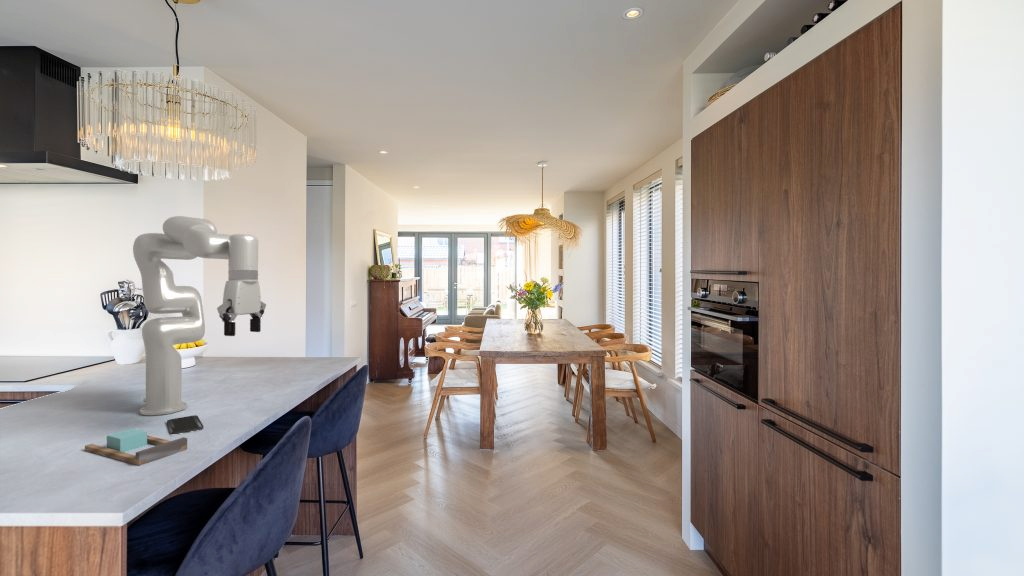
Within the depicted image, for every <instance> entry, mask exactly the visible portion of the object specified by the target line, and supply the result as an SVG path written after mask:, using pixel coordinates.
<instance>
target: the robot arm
mask: <svg viewBox="0 0 1024 576" xmlns="http://www.w3.org/2000/svg"><path fill="white" fill-rule="evenodd" d="M162 231H163V233H159V232H149V233H148V232H146V233H142V234H139V235H138V236H137V237H136V238H135V240H134V242H133V245H132V254H133V258H134V261H135V263H136V265H137V268H138V270H139V272H140V277H141V285H142V287H141V288H142V295H143V301H144V303H143V304H144V306H145V309H146V311H147V312H149V314H158V315H163V314H166V315H167V314H181V315H182V316H165V317H155V318H152V319H149V320H147V321H146V322H145V323H143V326H142V328H141V336H142V340H143V345H144V352H145V397H144V398H143V399H142V402H143V403H145V406H143V407H142V408H140V409H139V414H140V415H143V416H163V415H169V414H173V413H178V412H180V411H183V410H185V409H187V408H188V404H187V402H184V401H182V375H183V374H182V372H183V371H182V367H183V365H182V356H181V354H180V352H179V351H178V350H177V349H176V348H175V347H174V345H175V346H176V345H181V344H191V343H196V342H199V341H201V340H202V339H203V338H204V337H205V334H206V325H205V317H204V308H203V300H202V296H201V294H200V292H199V289H197V288H195V287H194V286H190V285H176V284H175V280H174V273H173V270H171V268H170V267H169V266H168V265H167V263H165V262H164V261H163V260H162V259H164V260H167V259H168V260H186V261H187V260H191V261H192V260H193V259H194V260H195V259H196V258H203V259H211V260H212V259H213V260H214V259H215V260H216V259H218V260H227V261H228V263H227V266H228V272H227V273H228V274H227V275H228V276H227V277H228V280H226V281H225V285H224V288H223V289H224V290H223V294H222V296H223V297H222V304H221V305H219V306H218V307H216V310H217V312H218V313H217V314H218V315H219V318H220V319H221V321H222V322H223V335H224V336H225V337H235V336H236V322H235V320H236V318H237V316H242V315H249V316H250V317H251V318H249V332H253V333H260V332H261V327H262V326H261V323H262V321H261V320H262V319H263V315H264V314H265V310H266V308H267V304H266V303H265V302H263V301H262V300H261V299H262V298H261V288H260V287H261V286H260V282H259V240H258V238H257V237H256V236H255V235H251V234H240V233H236V234H224V233H217V232H218V229H217V226H216V225H215V224H214V222H212V221H211V220H209V219H206V218H199V217H191V216H183V215H182V216H181V215H175V216H170V217H168V218H166V220H164V222H163V223H162Z"/></svg>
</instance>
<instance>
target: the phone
mask: <svg viewBox="0 0 1024 576" xmlns="http://www.w3.org/2000/svg"><path fill="white" fill-rule="evenodd" d="M166 425H167V427H168V430H169V433H170V435H171V434H177V435H181V434H180V433H183V434H186V433H185V432H188V433H192V432H191V431H194V432H198V431H197V430H199V431H202V429H203V430H204V425H203V422H202V421H201V420H200V418H199V416H198V415H196V414H195V415H189V416H182V417H175V418H170V419H167V420H166Z"/></svg>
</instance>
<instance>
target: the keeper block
mask: <svg viewBox="0 0 1024 576" xmlns="http://www.w3.org/2000/svg"><path fill="white" fill-rule="evenodd" d="M147 435H148V431H147V430H141V429H138V428H134V427H133V428H130V429H126V430H122V431H118V432H114V433H111V434H106V448H110V449H113V450H117V451H121V452H125V453H127V452H130V451H129V450H131V451H133V450H132V449H134V450H136V448H137V449H140V448H143V447H142V446H144V447H146V446H145V445H147V446H148V443H147ZM139 447H140V448H139ZM126 451H127V452H126Z"/></svg>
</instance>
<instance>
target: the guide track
mask: <svg viewBox="0 0 1024 576" xmlns="http://www.w3.org/2000/svg"><path fill="white" fill-rule="evenodd" d="M149 443H151V444H150V445H153V444H154V446H152V447H148V448H146V449H142V450H139V451H135V454H132V453H127V452H121V451H117V450H113V449H110V448H107V446H106V447H105V446H102V445H98V444H95V443H90V444H87V445H84V451H86V452H90V453H94V454H96V455H100V456H103V457H107V458H111V459H114V460H119V461H121V462H124V463H129V464H132V465H137V466H139V467H140V466H142V464H143V465H146V464H149V463H151V462H154V461H157V460H160V459H162V458H166V457H169V456H172V455H175V454H178V453H181V452H183V450H184V451H186V449H187V450H188V437H179V438H177V439H174V440H169V439H164V438H160V437H156V436H153V435H152V436H150V435H148V434H147V444H149ZM180 451H181V452H180ZM177 452H178V453H177ZM174 453H175V454H174ZM171 454H172V455H171ZM168 455H169V456H168ZM145 463H146V464H145Z"/></svg>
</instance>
